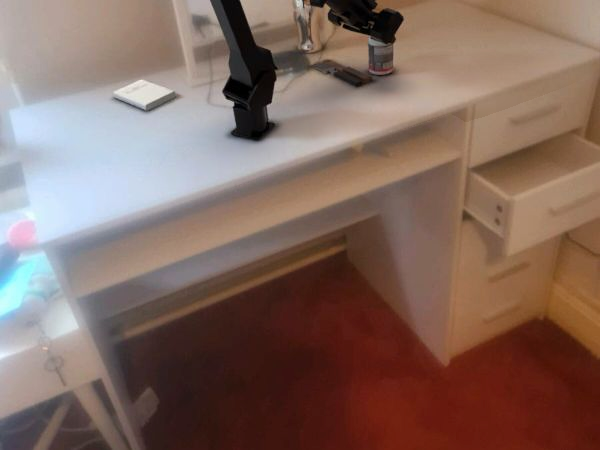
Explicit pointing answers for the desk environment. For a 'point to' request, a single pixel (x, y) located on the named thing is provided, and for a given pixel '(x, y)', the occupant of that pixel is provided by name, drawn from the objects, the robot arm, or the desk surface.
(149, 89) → the hard drive
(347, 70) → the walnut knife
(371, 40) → the pill bottle
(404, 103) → the desk surface
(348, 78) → the black-handled fork
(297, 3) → the beer glass
